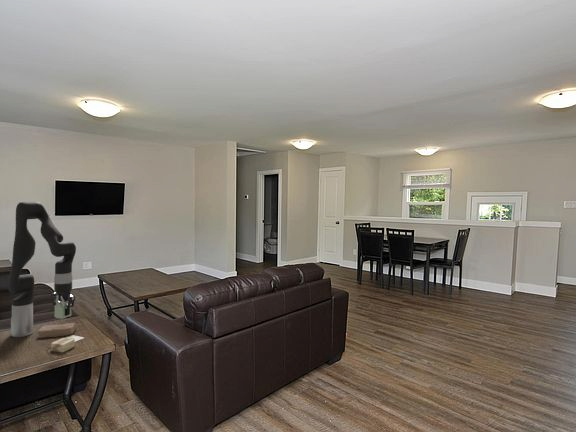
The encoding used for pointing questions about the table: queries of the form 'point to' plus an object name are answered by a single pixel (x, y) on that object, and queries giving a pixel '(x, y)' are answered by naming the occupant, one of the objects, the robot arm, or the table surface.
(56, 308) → the green block
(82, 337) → the page
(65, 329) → the brick
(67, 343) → the base block
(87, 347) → the table surface
